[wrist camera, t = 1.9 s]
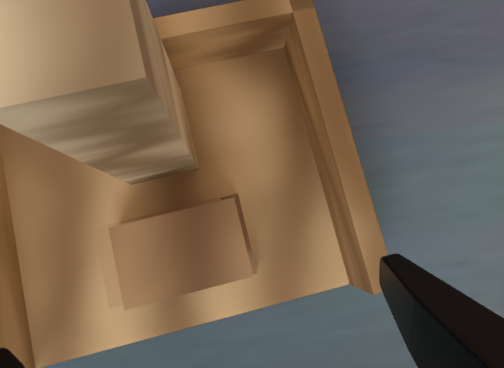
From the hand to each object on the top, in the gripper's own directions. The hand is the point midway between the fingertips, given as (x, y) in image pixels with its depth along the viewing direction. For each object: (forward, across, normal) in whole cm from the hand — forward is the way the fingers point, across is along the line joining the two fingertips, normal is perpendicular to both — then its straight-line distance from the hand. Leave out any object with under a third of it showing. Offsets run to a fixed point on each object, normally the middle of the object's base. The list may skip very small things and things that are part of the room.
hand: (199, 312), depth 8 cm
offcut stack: (+10, +3, +6) cm, 12 cm away
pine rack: (+13, +3, +4) cm, 14 cm away
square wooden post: (+14, +3, +1) cm, 14 cm away
